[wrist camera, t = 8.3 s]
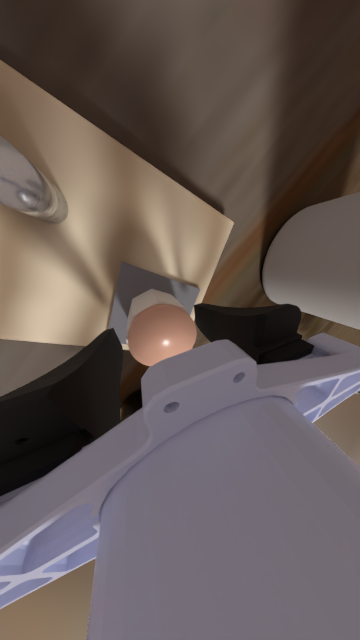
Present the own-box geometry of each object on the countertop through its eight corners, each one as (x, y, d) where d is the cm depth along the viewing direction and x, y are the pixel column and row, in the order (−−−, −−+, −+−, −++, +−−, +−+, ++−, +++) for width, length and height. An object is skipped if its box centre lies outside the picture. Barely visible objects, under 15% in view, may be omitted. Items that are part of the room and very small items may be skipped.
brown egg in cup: (124, 331, 14) (121, 365, 9) (135, 283, 12) (137, 298, 8) (169, 337, 16) (183, 368, 11) (183, 298, 14) (206, 315, 10)
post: (20, 212, 8) (-41, 188, 5) (18, 165, 8) (-53, 108, 5) (67, 230, 9) (36, 217, 6) (69, 190, 9) (36, 155, 6)
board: (-44, 323, 11) (-67, 332, 9) (-112, 5, 6) (-181, -67, 5) (176, 348, 19) (179, 354, 18) (224, 225, 14) (234, 222, 13)
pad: (106, 340, 14) (105, 342, 13) (121, 261, 11) (121, 261, 11) (175, 347, 17) (176, 349, 17) (198, 288, 15) (200, 289, 14)
